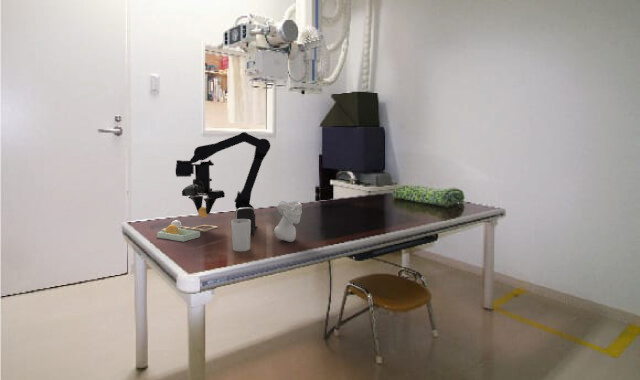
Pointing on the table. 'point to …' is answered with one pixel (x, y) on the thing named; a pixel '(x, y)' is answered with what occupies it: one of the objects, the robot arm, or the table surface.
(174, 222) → the white ball
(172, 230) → the orange ball
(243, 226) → the drinking glass
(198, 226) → the collar
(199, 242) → the table surface
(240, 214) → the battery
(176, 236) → the green dish
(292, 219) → the white figurine
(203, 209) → the orange ball
